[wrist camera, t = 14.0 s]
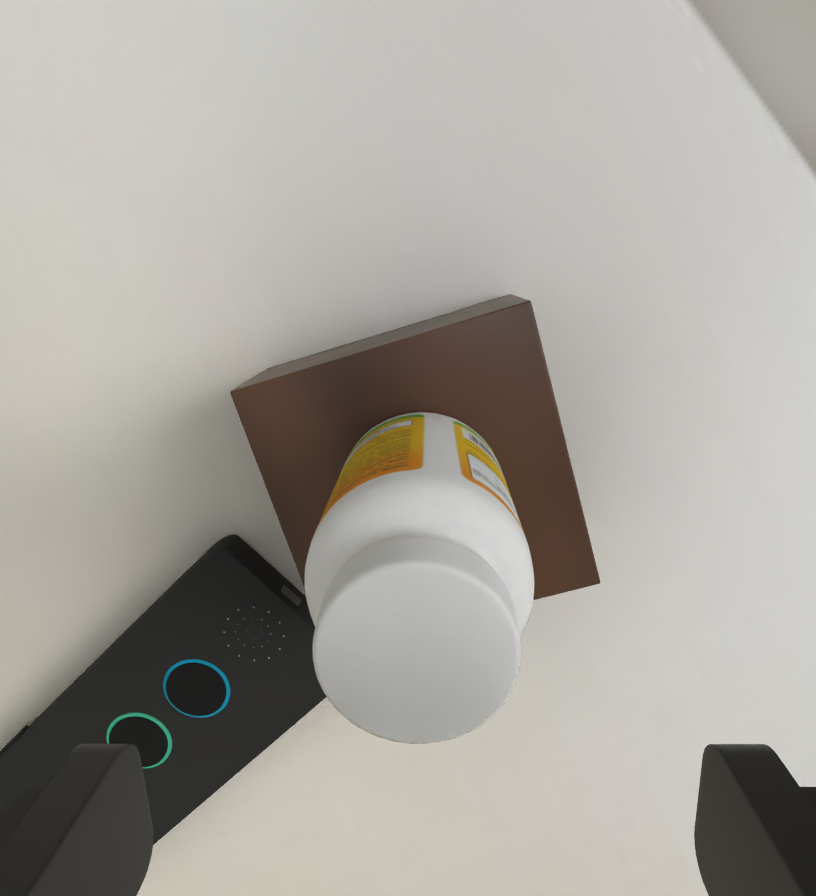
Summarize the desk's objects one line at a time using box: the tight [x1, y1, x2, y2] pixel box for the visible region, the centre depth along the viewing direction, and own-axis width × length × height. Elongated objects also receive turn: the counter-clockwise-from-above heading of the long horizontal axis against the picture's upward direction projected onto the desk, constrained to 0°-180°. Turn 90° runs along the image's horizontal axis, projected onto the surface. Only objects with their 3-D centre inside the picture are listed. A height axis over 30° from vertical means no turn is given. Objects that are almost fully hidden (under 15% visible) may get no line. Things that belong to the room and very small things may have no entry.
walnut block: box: [230, 294, 600, 600], centre depth 24 cm, size 10×10×5 cm
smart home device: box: [0, 535, 327, 845], centre depth 29 cm, size 8×2×20 cm
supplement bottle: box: [305, 412, 534, 744], centre depth 17 cm, size 5×5×10 cm
